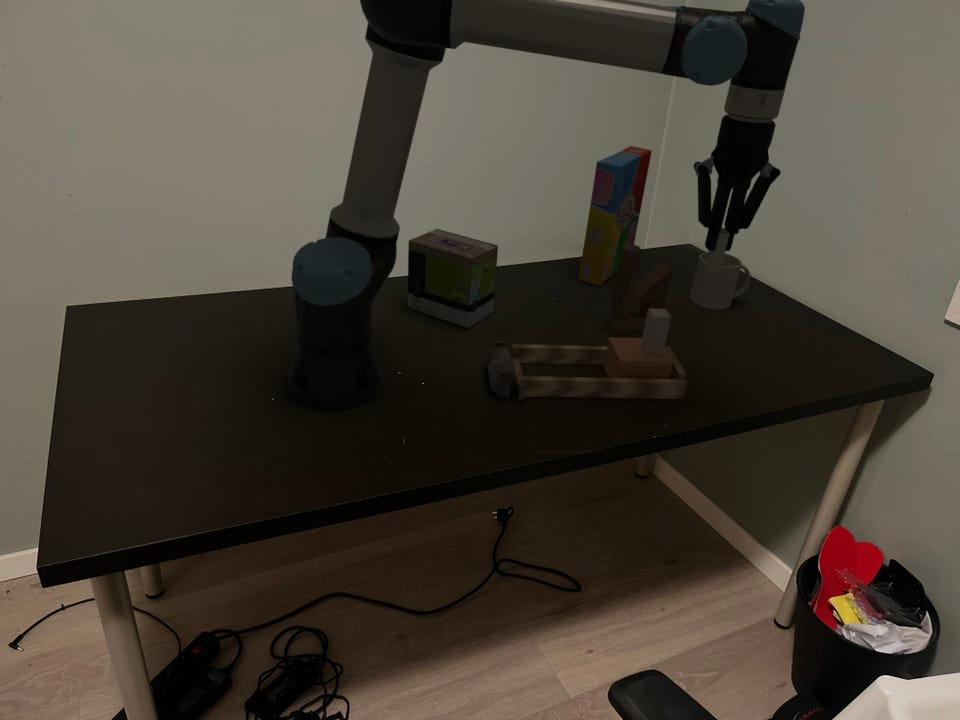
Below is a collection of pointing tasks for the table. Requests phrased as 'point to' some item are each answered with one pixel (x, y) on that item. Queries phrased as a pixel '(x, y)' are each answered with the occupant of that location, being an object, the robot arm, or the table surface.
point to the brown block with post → (641, 351)
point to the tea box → (451, 277)
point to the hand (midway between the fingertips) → (712, 268)
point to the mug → (717, 283)
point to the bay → (510, 377)
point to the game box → (613, 212)
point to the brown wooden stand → (636, 292)
